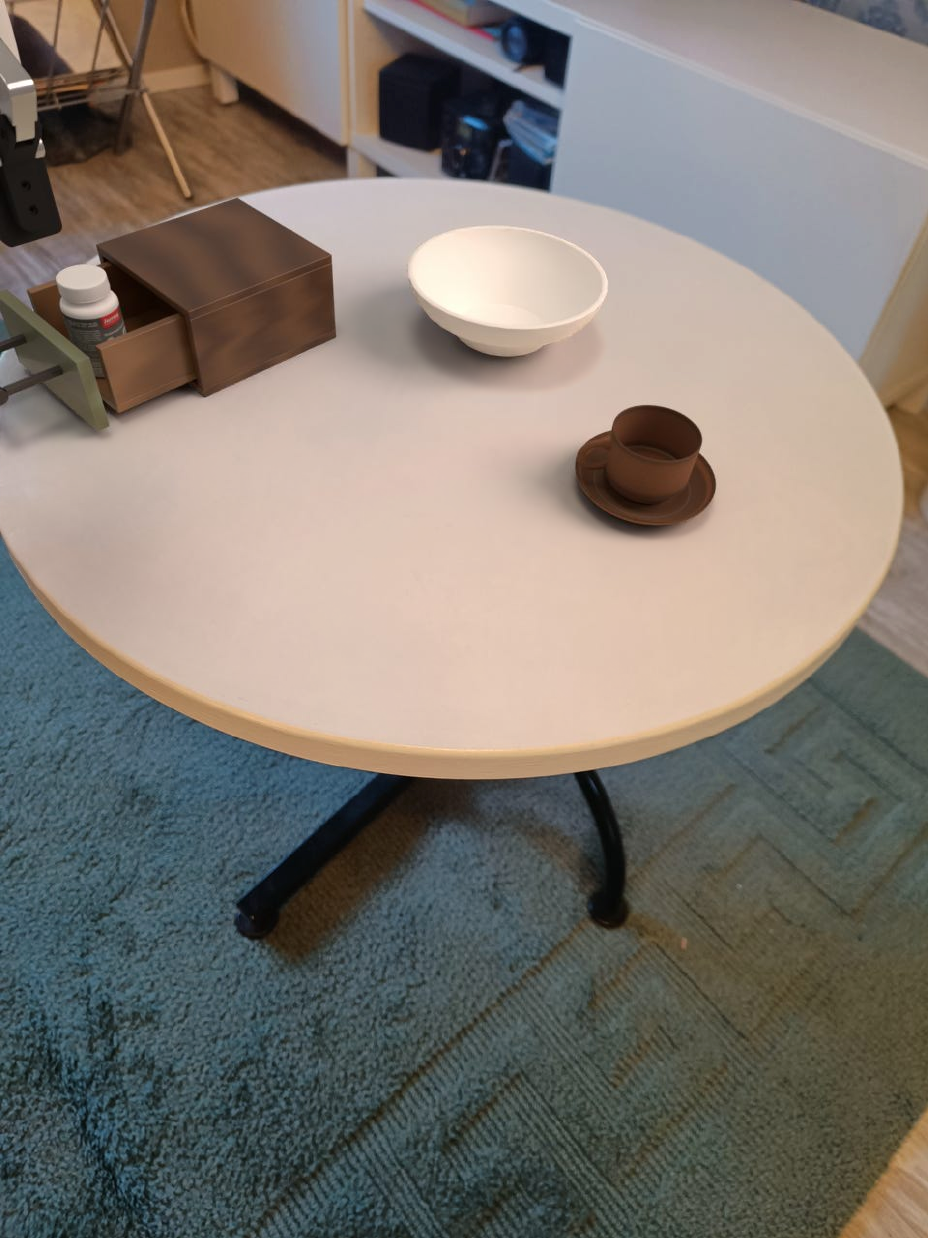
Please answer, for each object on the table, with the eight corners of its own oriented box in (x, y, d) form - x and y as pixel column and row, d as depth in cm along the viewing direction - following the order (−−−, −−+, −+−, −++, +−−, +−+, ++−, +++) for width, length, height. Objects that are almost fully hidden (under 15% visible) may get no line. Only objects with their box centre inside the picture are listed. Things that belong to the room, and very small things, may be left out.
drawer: (28, 463, 71) (0, 392, 66) (-48, 388, 76) (-80, 318, 71) (238, 368, 81) (228, 301, 76) (157, 308, 87) (142, 242, 81)
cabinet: (204, 397, 79) (188, 311, 73) (117, 329, 85) (95, 244, 79) (336, 336, 87) (332, 254, 80) (247, 278, 93) (237, 196, 86)
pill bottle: (126, 380, 77) (102, 292, 70) (71, 377, 77) (43, 288, 70) (139, 350, 80) (118, 263, 73) (87, 347, 80) (61, 259, 73)
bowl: (629, 332, 91) (644, 270, 86) (528, 418, 80) (537, 354, 75) (478, 267, 98) (483, 206, 93) (366, 339, 87) (365, 275, 82)
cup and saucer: (616, 553, 70) (633, 496, 65) (547, 461, 77) (557, 404, 72) (737, 517, 74) (761, 461, 69) (661, 433, 80) (678, 376, 76)
